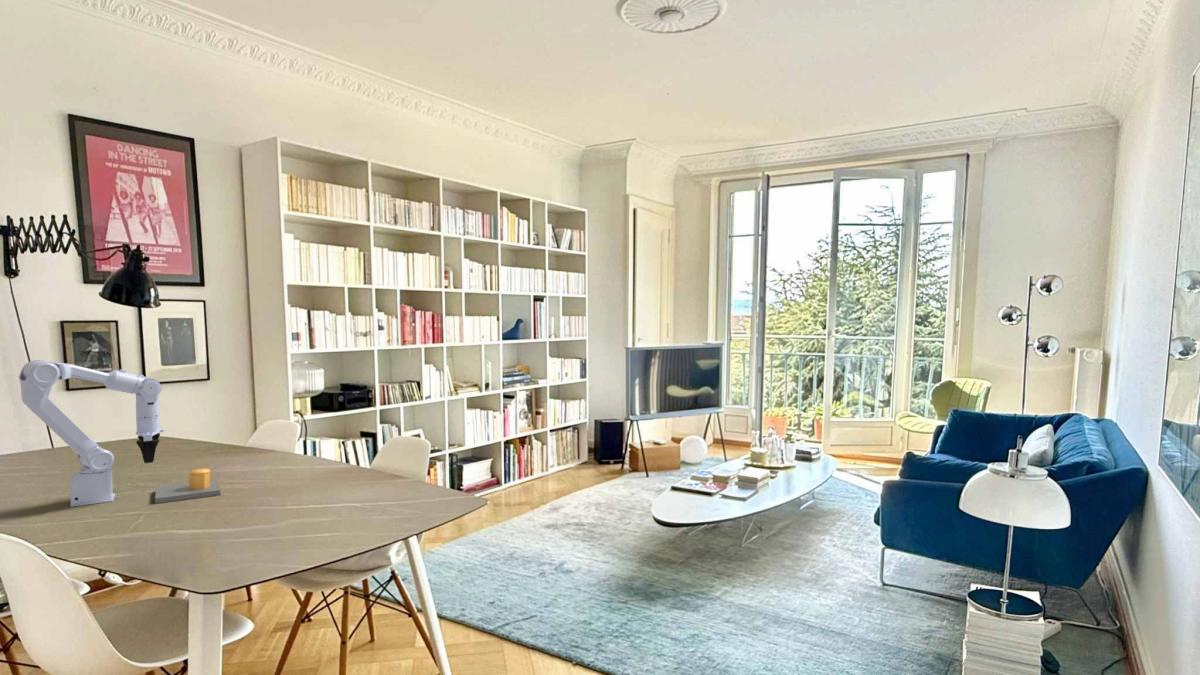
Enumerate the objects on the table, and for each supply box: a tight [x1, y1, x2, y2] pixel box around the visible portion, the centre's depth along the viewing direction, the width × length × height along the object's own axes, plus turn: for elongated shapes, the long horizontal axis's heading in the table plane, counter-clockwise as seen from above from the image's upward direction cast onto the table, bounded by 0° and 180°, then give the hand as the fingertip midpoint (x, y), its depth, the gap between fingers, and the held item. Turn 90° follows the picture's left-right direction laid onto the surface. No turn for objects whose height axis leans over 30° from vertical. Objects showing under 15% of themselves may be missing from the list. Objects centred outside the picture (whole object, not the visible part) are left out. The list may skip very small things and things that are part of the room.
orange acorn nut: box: [188, 468, 211, 490], centre depth 188 cm, size 5×5×5 cm
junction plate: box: [154, 478, 221, 504], centre depth 186 cm, size 16×14×4 cm
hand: (149, 459), depth 188 cm, fingers open, 7 cm apart
